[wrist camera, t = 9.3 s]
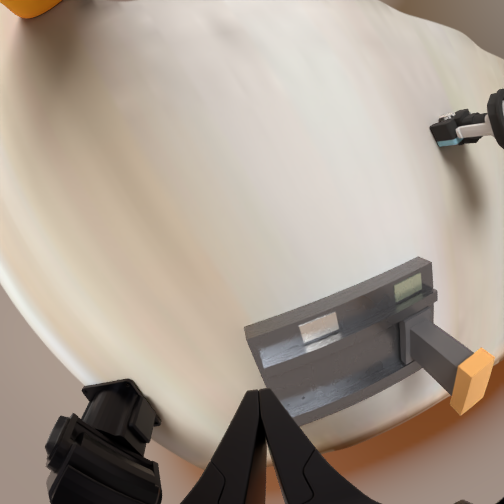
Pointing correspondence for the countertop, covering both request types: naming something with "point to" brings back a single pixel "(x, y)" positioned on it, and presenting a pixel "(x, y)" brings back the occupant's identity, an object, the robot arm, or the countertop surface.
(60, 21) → the countertop surface
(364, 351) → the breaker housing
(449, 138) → the push button
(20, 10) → the beer bottle
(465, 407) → the lever
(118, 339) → the countertop surface
